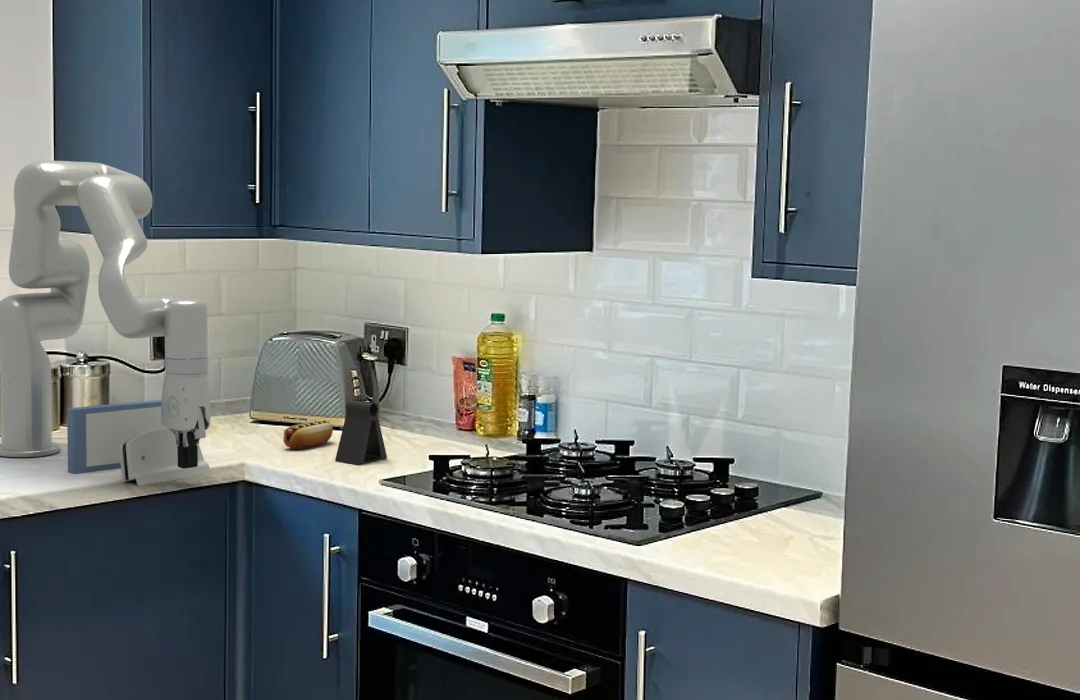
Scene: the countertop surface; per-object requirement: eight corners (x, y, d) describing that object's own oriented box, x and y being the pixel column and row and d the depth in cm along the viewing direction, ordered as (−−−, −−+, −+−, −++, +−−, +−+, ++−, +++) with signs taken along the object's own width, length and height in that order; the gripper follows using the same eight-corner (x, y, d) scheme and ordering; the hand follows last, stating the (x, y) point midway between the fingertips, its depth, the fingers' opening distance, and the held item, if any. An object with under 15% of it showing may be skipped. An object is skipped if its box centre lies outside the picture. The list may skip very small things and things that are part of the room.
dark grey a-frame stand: (364, 455, 293) (365, 397, 292) (387, 459, 290) (388, 400, 288) (334, 461, 286) (335, 402, 284) (357, 465, 282) (358, 405, 281)
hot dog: (338, 443, 305) (338, 420, 304) (297, 453, 294) (298, 429, 293) (320, 441, 308) (320, 418, 307) (279, 450, 296) (279, 426, 295)
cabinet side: (67, 471, 269) (67, 408, 267) (181, 456, 285) (181, 397, 284) (74, 473, 267) (73, 410, 266) (188, 459, 284) (188, 399, 282)
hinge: (137, 486, 258) (126, 432, 259) (122, 490, 261) (111, 437, 262) (212, 473, 271) (201, 421, 272) (197, 477, 274) (186, 427, 275)
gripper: (147, 364, 262) (148, 463, 264) (189, 373, 251) (190, 476, 253) (183, 361, 267) (184, 458, 269) (227, 369, 256) (227, 470, 258)
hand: (187, 466), depth 261 cm, fingers closed
